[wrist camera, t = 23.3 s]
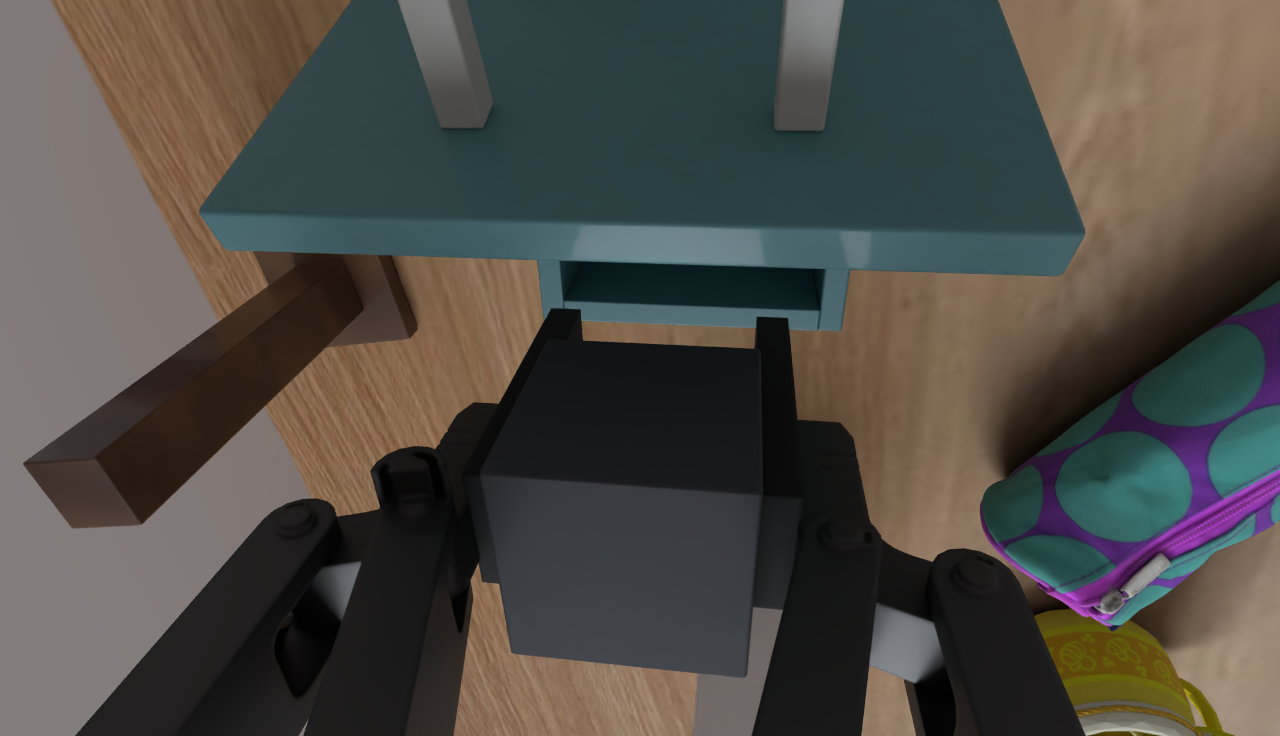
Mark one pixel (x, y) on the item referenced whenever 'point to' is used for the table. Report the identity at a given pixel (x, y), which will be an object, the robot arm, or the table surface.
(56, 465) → the post stand
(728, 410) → the block
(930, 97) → the lid
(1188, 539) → the pencil case
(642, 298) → the chest
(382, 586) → the robot arm
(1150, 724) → the yellow pot
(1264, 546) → the table surface
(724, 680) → the milk carton
